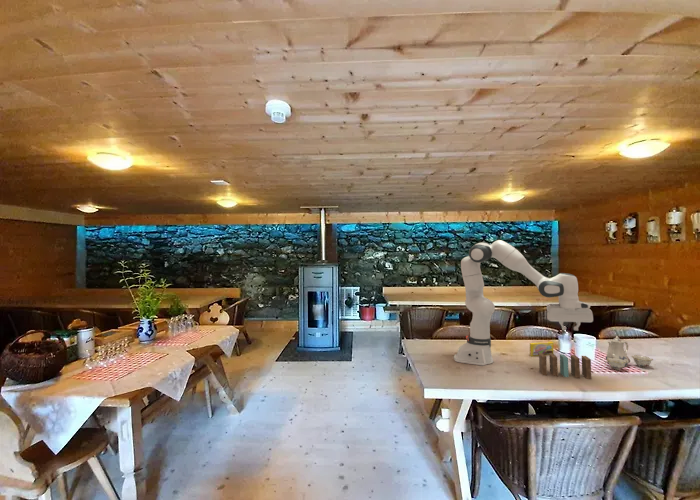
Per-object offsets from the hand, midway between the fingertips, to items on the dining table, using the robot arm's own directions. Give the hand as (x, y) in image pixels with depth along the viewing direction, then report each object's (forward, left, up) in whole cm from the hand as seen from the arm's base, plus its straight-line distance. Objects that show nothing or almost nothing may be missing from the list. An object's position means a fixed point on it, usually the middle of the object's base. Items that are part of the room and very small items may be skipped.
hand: (570, 330), depth 168 cm
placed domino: (-3, 0, -24) cm, 24 cm away
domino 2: (-8, 0, -24) cm, 25 cm away
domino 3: (+2, 0, -24) cm, 24 cm away
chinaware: (+33, +24, -24) cm, 48 cm away
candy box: (-5, +34, -24) cm, 42 cm away
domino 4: (+7, 0, -24) cm, 25 cm away
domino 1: (-13, 0, -24) cm, 27 cm away
